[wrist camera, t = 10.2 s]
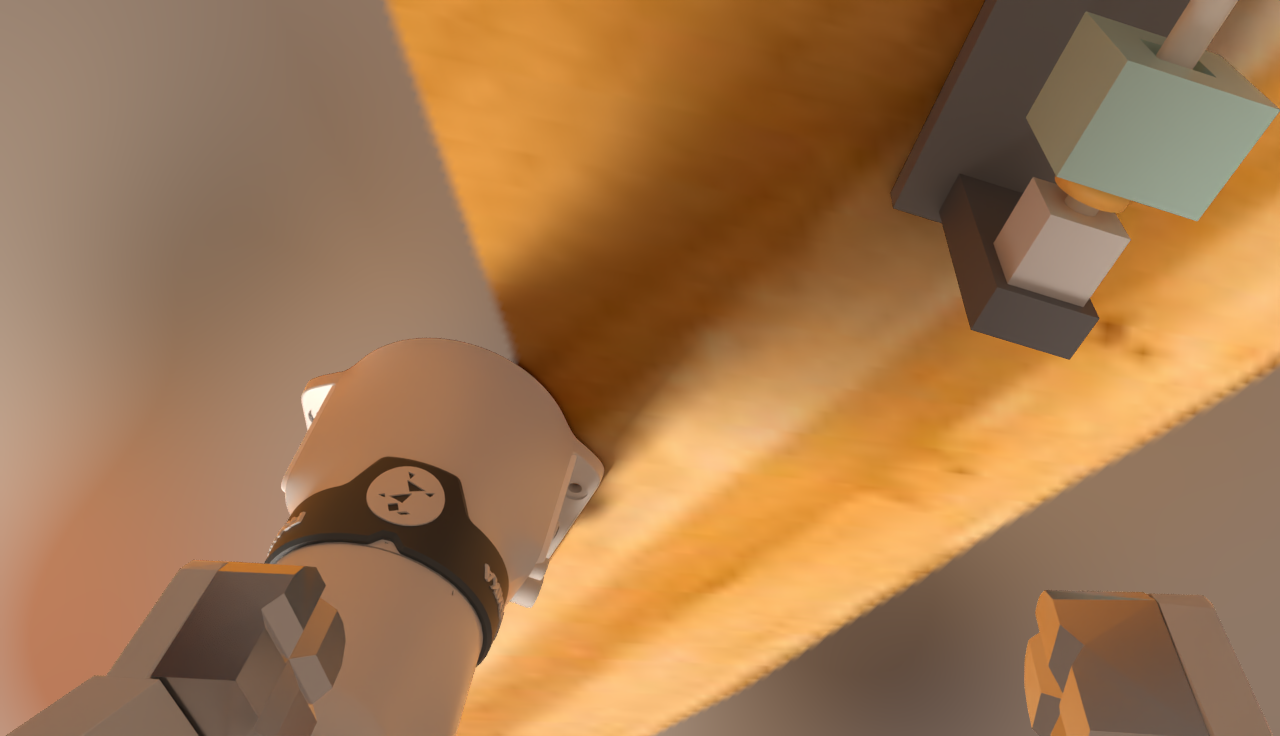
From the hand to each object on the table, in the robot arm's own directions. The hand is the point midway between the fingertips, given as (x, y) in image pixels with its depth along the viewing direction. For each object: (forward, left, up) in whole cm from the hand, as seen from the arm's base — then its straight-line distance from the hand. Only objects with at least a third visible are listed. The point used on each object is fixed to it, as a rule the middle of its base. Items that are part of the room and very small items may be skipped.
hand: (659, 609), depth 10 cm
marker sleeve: (0, -14, -28) cm, 31 cm away
